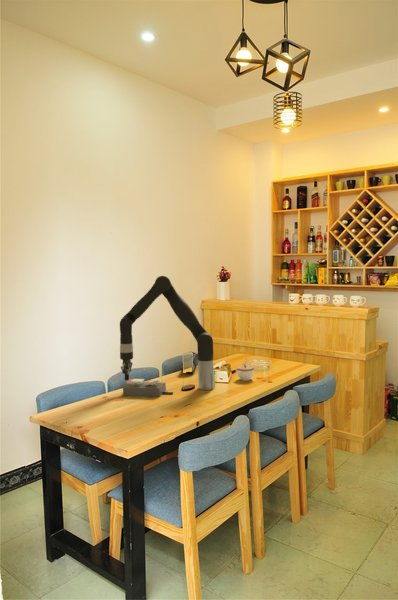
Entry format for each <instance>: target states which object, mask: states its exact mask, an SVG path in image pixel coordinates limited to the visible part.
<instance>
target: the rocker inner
mask: <svg viewBox="0 0 398 600" xmlns="http://www.w3.org/2000/svg"><path fill="white" fill-rule="evenodd" d="M161 381H162V378H161V377H158V378H153V379H149V380H147V381H144V382H145V383H144V385H149V384H151V385H154V384H155V383H160V382H161Z"/></svg>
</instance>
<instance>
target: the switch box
mask: <svg viewBox="0 0 398 600" xmlns="http://www.w3.org/2000/svg"><path fill="white" fill-rule="evenodd" d="M145 382H146V381H144V382H142V383H136V384H135V385H133V383H126V384H125V385H124V386H123V387H122V392H123V394H122V395H123V397H149V398H151V397H152V398H153V397H154V398H160V397H161V396H163V395H174V392H173V391H167V389H166V387H167V385H166V382H157V383H155V384H154V385H151V384H149V385H144V383H145Z"/></svg>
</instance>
